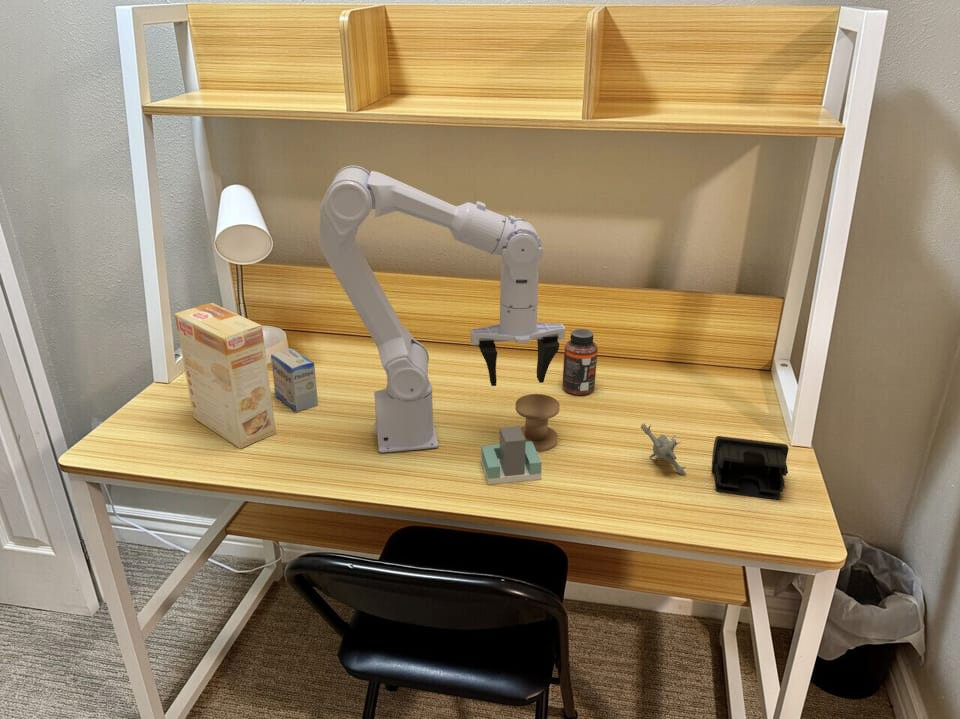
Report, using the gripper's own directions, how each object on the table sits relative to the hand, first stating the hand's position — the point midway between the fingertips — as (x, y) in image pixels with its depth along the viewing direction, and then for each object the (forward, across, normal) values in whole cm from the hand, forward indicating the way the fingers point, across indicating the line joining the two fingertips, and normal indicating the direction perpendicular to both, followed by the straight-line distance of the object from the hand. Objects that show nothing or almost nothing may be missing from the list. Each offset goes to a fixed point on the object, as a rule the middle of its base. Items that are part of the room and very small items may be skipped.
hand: (516, 381), depth 120 cm
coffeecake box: (+10, -46, +10) cm, 48 cm away
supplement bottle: (+10, +15, +14) cm, 23 cm away
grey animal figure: (+10, +21, -11) cm, 25 cm away
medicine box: (+10, -36, +17) cm, 41 cm away
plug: (+9, -3, -11) cm, 14 cm away
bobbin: (+10, +3, -2) cm, 11 cm away
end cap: (+10, +31, -18) cm, 38 cm away
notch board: (+10, -3, -10) cm, 14 cm away
